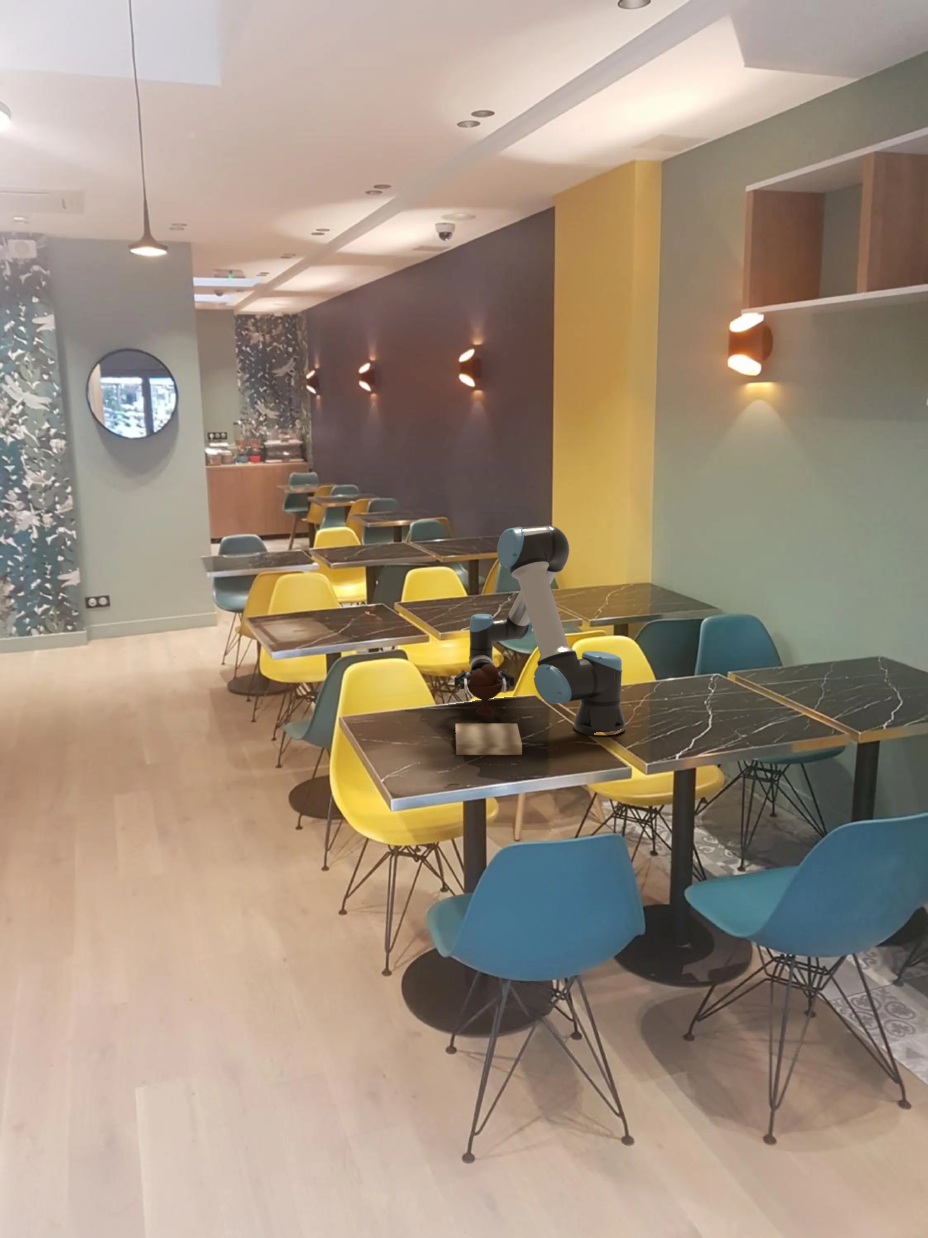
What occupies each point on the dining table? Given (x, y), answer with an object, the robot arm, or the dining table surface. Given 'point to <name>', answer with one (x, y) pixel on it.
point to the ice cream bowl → (485, 686)
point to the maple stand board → (488, 739)
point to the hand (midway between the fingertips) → (485, 688)
